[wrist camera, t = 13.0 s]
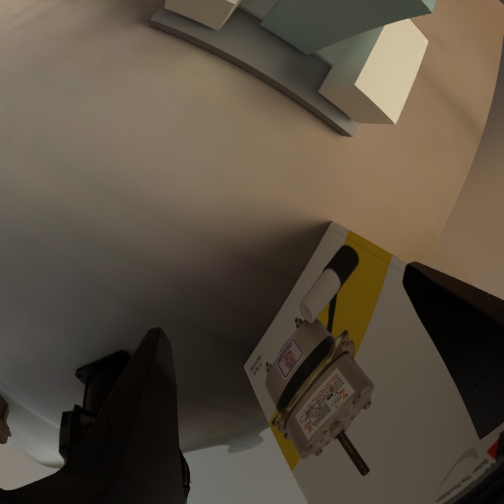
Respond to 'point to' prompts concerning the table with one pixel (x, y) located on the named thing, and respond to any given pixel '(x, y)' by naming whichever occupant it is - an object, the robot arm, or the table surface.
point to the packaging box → (363, 386)
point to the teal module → (336, 19)
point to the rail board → (307, 59)
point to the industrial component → (4, 421)
